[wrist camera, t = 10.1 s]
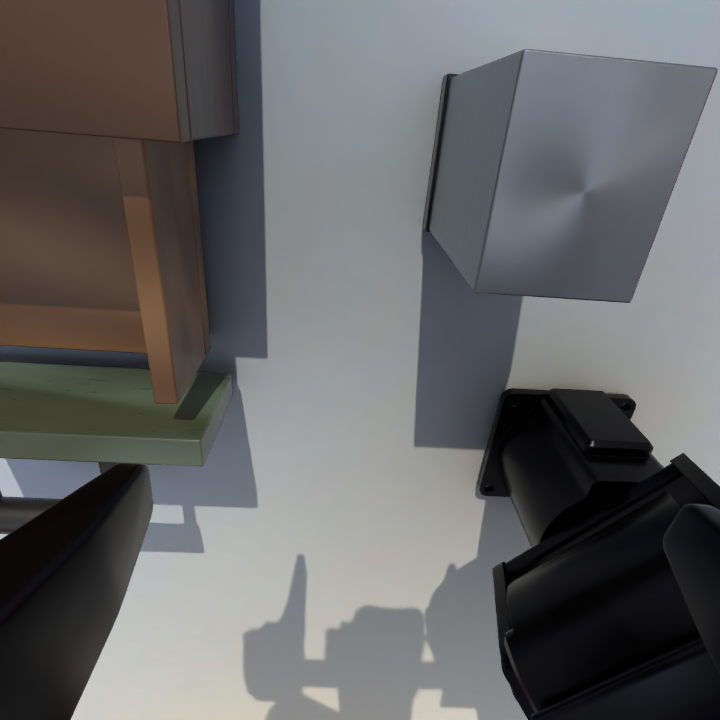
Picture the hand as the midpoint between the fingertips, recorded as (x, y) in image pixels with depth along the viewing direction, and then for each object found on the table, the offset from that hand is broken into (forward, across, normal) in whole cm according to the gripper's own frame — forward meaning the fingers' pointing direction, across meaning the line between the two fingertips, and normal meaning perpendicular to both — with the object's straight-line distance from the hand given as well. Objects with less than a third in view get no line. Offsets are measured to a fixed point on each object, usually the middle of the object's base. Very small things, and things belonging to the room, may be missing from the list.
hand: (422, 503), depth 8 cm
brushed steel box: (+13, -4, -5) cm, 14 cm away
